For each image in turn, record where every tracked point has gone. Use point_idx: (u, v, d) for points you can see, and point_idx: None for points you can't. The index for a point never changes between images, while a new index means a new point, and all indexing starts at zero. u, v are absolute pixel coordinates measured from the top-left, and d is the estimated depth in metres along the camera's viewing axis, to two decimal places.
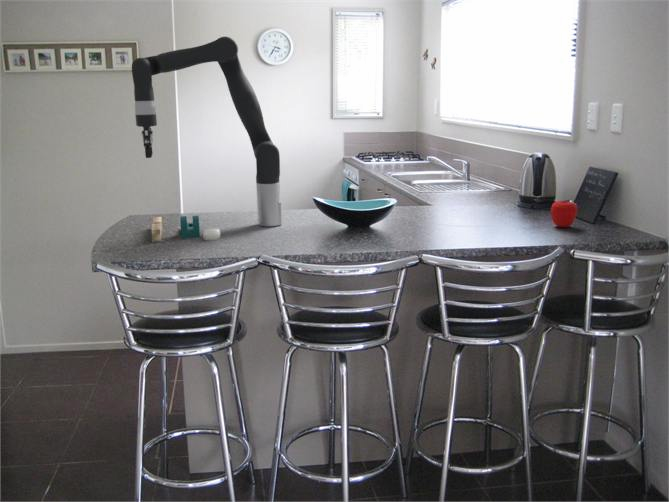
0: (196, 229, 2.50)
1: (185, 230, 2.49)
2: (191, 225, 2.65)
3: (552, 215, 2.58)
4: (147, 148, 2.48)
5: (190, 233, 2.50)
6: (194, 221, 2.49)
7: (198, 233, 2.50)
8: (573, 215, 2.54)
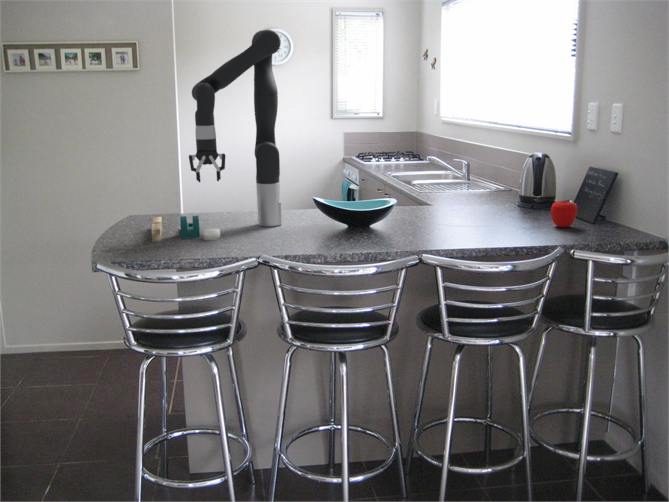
0: (196, 229, 2.50)
1: (185, 230, 2.49)
2: (191, 225, 2.65)
3: (552, 215, 2.58)
4: None
5: (190, 233, 2.50)
6: (194, 221, 2.49)
7: (198, 233, 2.50)
8: (573, 215, 2.54)
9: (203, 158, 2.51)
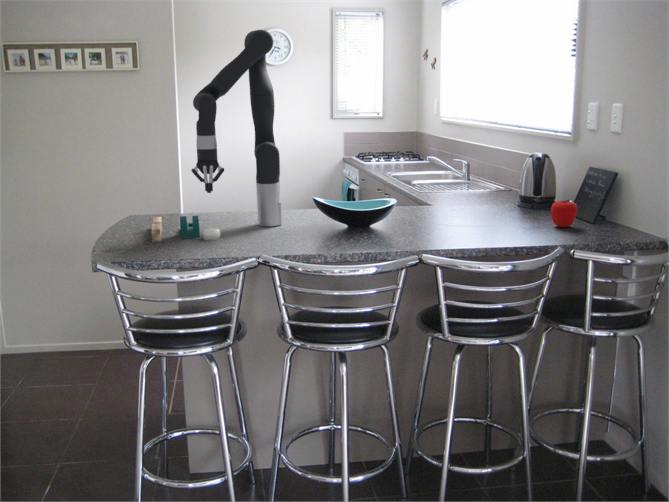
0: (196, 229, 2.50)
1: (185, 230, 2.49)
2: (191, 225, 2.65)
3: (552, 215, 2.58)
4: None
5: (190, 233, 2.50)
6: (194, 221, 2.49)
7: (198, 233, 2.50)
8: (573, 215, 2.54)
9: (204, 168, 2.52)
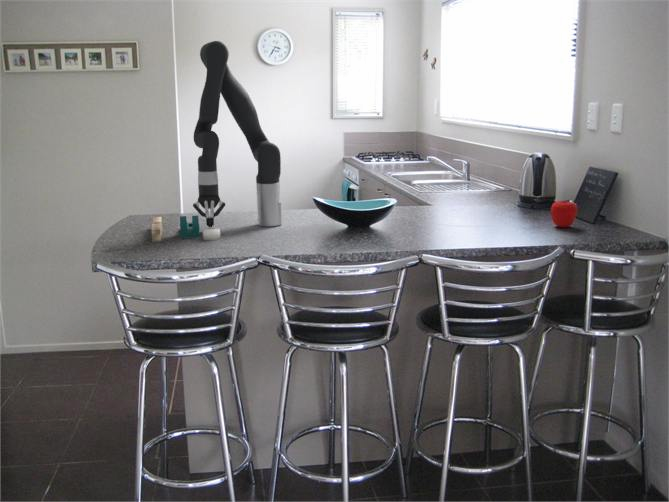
0: (195, 230, 2.50)
1: (184, 230, 2.49)
2: (191, 225, 2.65)
3: (552, 215, 2.58)
4: None
5: (189, 233, 2.50)
6: (194, 221, 2.49)
7: (197, 233, 2.50)
8: (573, 215, 2.54)
9: (206, 203, 2.55)
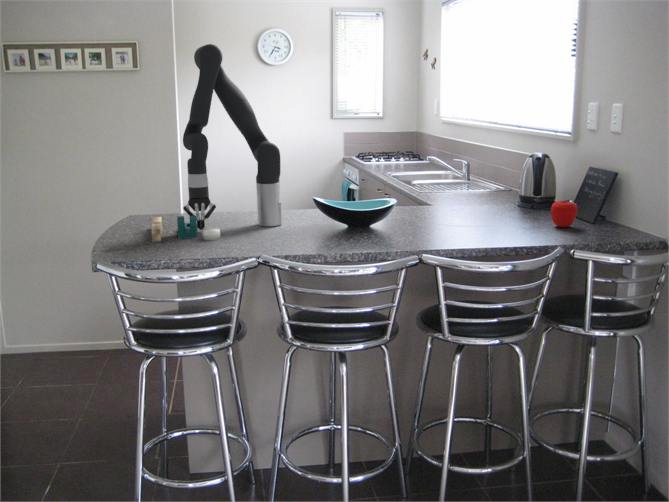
0: (193, 230, 2.50)
1: (182, 230, 2.49)
2: (189, 225, 2.65)
3: (552, 215, 2.58)
4: None
5: (187, 233, 2.50)
6: (191, 221, 2.49)
7: (195, 233, 2.50)
8: (573, 215, 2.54)
9: (196, 205, 2.54)
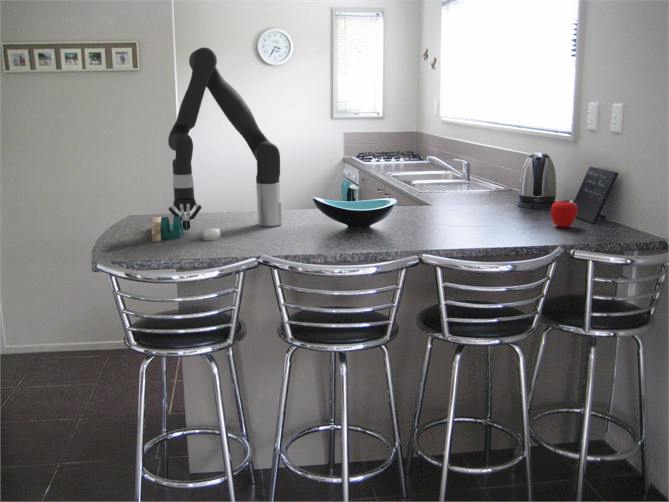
0: (176, 230, 2.49)
1: (165, 231, 2.48)
2: None
3: (552, 215, 2.58)
4: None
5: (170, 234, 2.49)
6: (174, 222, 2.48)
7: (178, 234, 2.49)
8: (573, 215, 2.54)
9: (181, 206, 2.53)
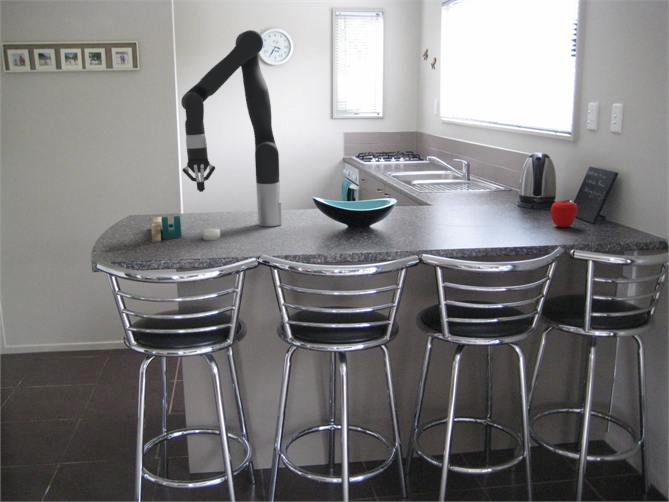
0: (177, 230, 2.49)
1: (167, 231, 2.48)
2: (171, 226, 2.64)
3: (552, 215, 2.58)
4: None
5: (172, 234, 2.49)
6: (176, 221, 2.49)
7: (180, 233, 2.50)
8: (573, 215, 2.54)
9: (195, 167, 2.53)
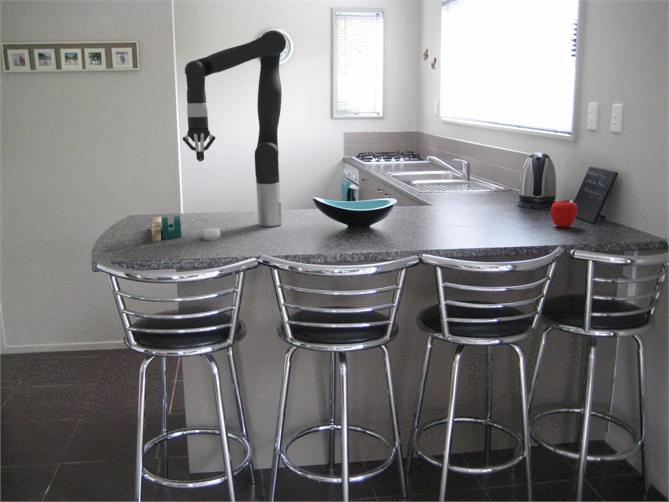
0: (177, 230, 2.49)
1: (166, 231, 2.48)
2: (171, 226, 2.64)
3: (552, 215, 2.58)
4: None
5: (172, 234, 2.49)
6: (175, 222, 2.49)
7: (180, 234, 2.50)
8: (573, 215, 2.54)
9: (195, 136, 2.52)
